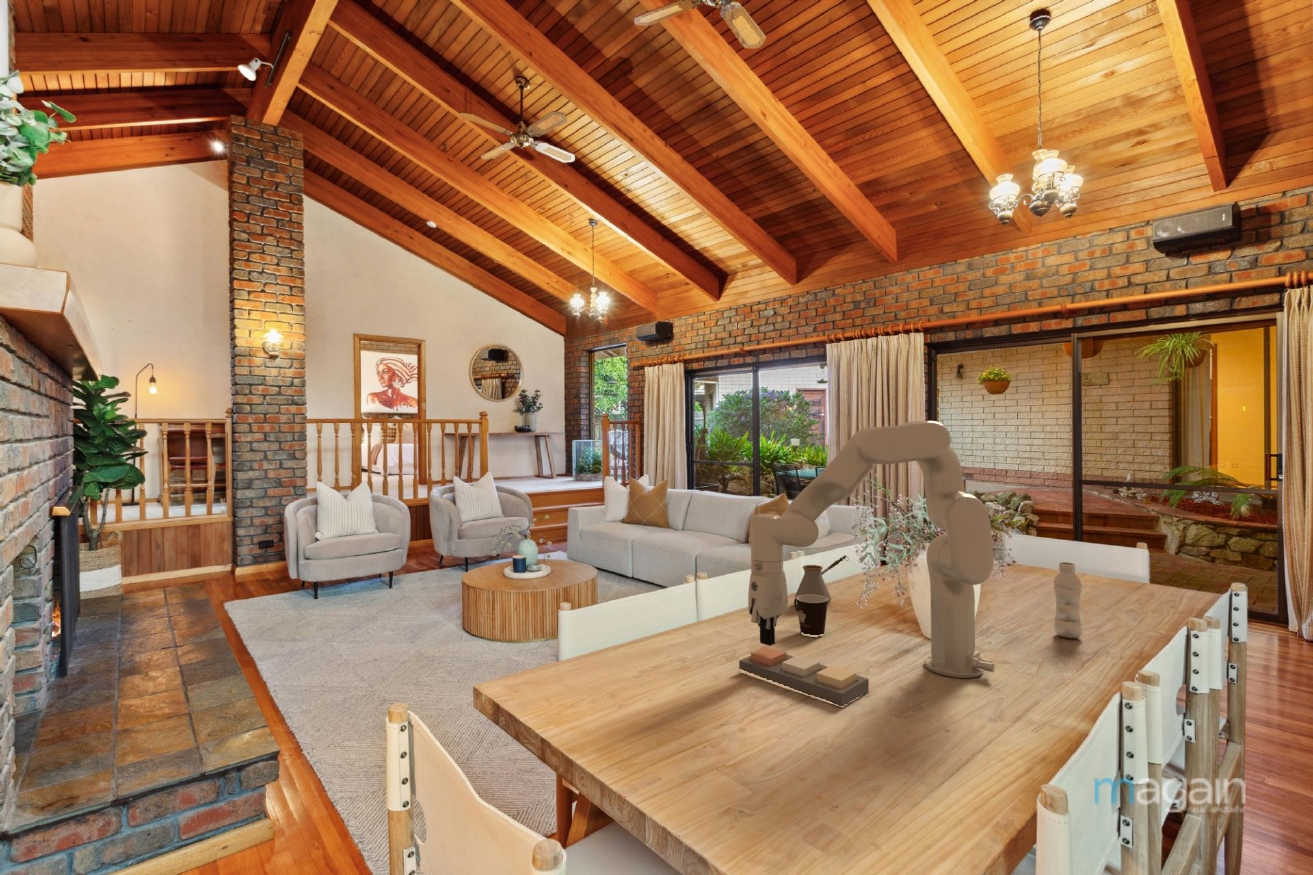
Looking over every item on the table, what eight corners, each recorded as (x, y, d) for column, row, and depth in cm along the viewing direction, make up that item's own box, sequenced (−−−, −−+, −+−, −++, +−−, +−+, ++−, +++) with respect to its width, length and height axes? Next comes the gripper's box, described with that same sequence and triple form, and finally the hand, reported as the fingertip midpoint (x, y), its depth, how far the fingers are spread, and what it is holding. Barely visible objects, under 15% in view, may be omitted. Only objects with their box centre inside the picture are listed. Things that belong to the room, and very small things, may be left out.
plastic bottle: (1073, 633, 172) (1072, 561, 172) (1087, 641, 165) (1086, 566, 165) (1048, 633, 172) (1047, 561, 172) (1062, 641, 166) (1061, 566, 166)
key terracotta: (786, 660, 148) (786, 652, 148) (771, 667, 144) (771, 658, 144) (766, 654, 152) (766, 646, 152) (750, 661, 148) (750, 652, 148)
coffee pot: (812, 613, 195) (811, 565, 195) (787, 604, 205) (787, 559, 205) (861, 603, 205) (860, 558, 205) (835, 595, 215) (834, 552, 215)
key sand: (856, 682, 135) (856, 672, 135) (841, 690, 131) (841, 680, 131) (831, 674, 139) (831, 665, 139) (816, 682, 135) (816, 672, 135)
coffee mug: (831, 639, 170) (831, 602, 170) (800, 639, 171) (799, 602, 171) (821, 625, 182) (821, 591, 182) (791, 626, 182) (791, 592, 182)
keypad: (868, 692, 135) (868, 678, 135) (842, 708, 128) (842, 693, 128) (767, 660, 155) (767, 648, 155) (739, 673, 147) (739, 660, 147)
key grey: (819, 670, 141) (819, 662, 141) (804, 678, 137) (804, 669, 137) (797, 664, 146) (797, 655, 146) (782, 671, 141) (782, 662, 141)
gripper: (760, 574, 140) (760, 655, 140) (798, 564, 150) (798, 640, 150) (734, 569, 145) (734, 647, 146) (772, 559, 156) (773, 633, 156)
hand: (767, 643), depth 148 cm, fingers closed
